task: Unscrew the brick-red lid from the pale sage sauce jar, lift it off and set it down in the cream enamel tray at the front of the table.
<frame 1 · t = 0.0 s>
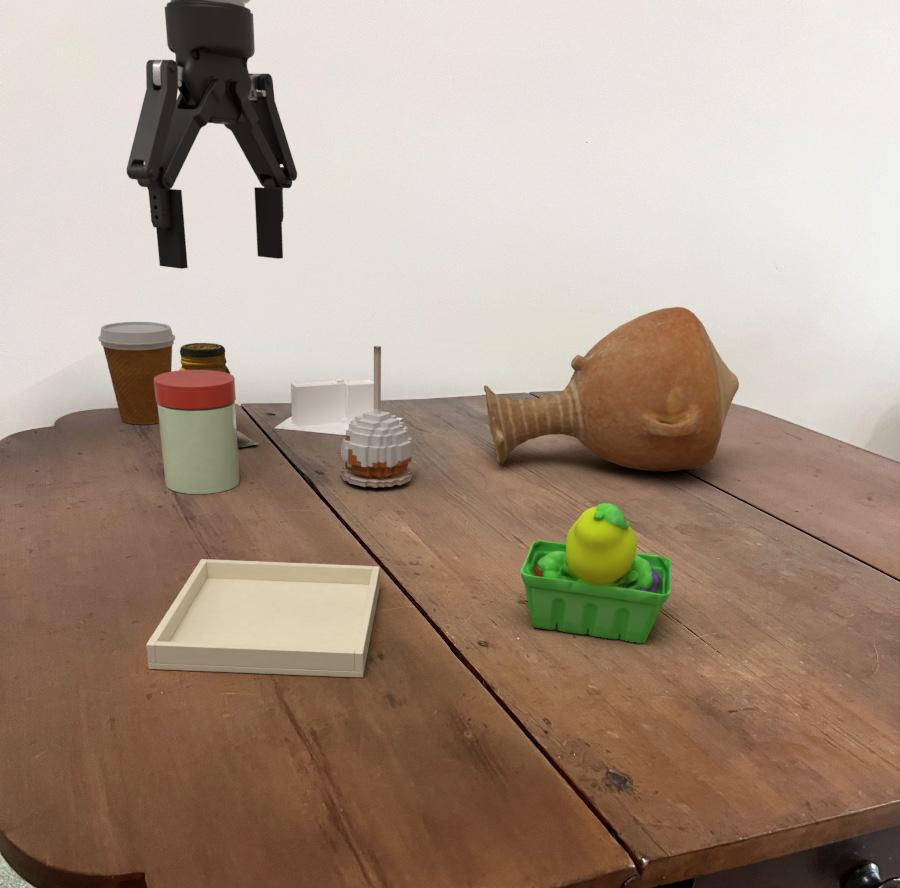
hand: (224, 262, 89), 23 cm above the table, tool pointing down, fingers open, 13 cm apart
disposable coffee cup: (145, 420, 124), on the table
jar: (202, 482, 101), on the table
caramel apple: (376, 482, 104), on the table
fruit basket: (589, 627, 74), on the table
tray: (275, 624, 72), on the table
lid: (194, 381, 97), point 11 cm above the table, screwed on, not yet turned
napkin holder: (340, 424, 126), on the table
jug: (601, 465, 114), on the table
condiment: (217, 444, 115), on the table
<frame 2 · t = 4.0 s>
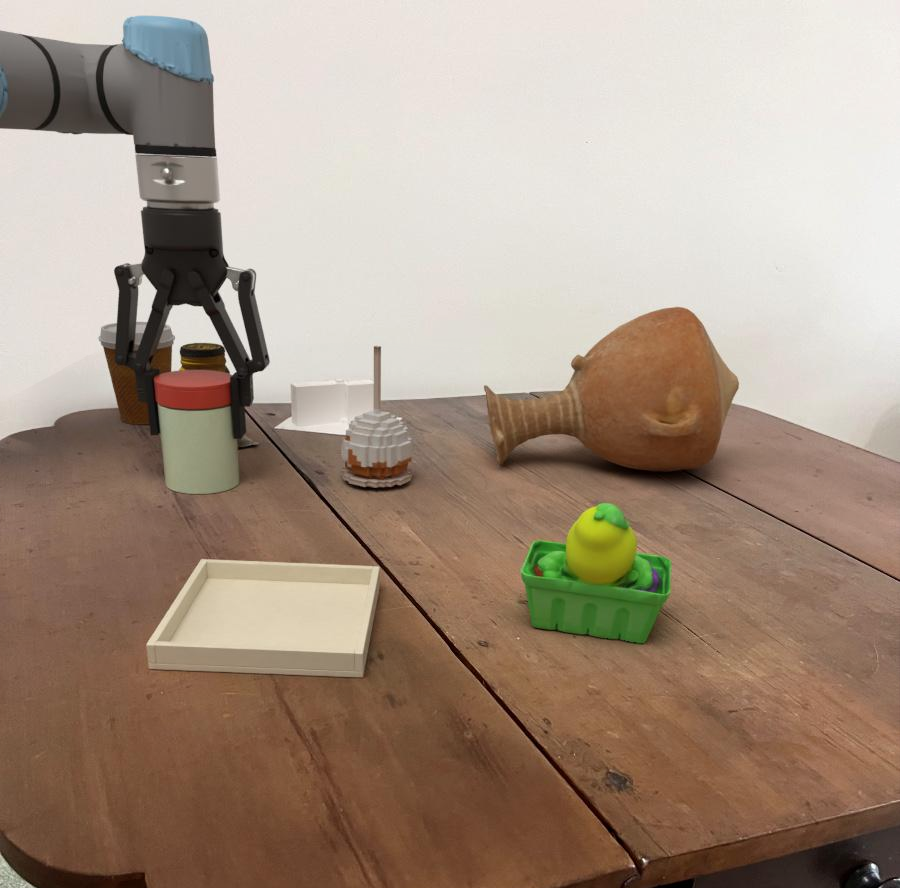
hand: (198, 433, 99), 6 cm above the table, tool pointing down, fingers closed on lid, 8 cm apart
lid: (194, 381, 97), point 11 cm above the table, screwed on, not yet turned, touching gripper
everything else where it was.
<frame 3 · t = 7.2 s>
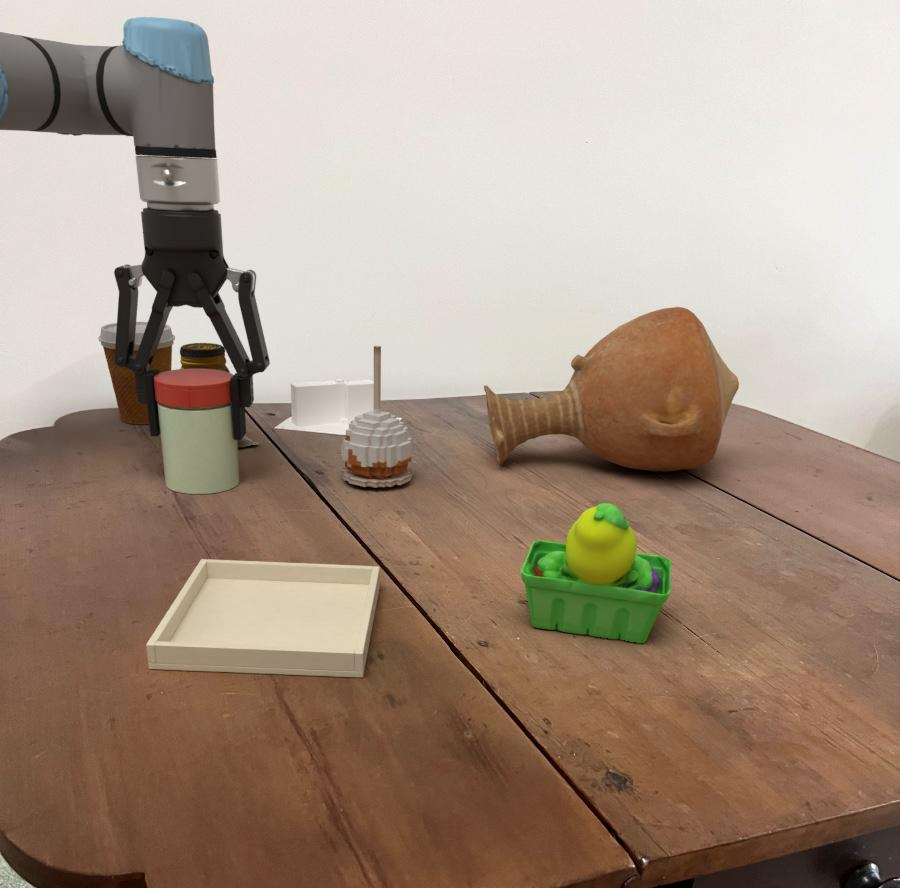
hand: (198, 434, 99), 5 cm above the table, tool pointing down, fingers closed on lid, 8 cm apart
lid: (194, 380, 97), point 11 cm above the table, turned 95° so far, risen 0.1 cm, still on its thread, touching gripper
everything else where it was.
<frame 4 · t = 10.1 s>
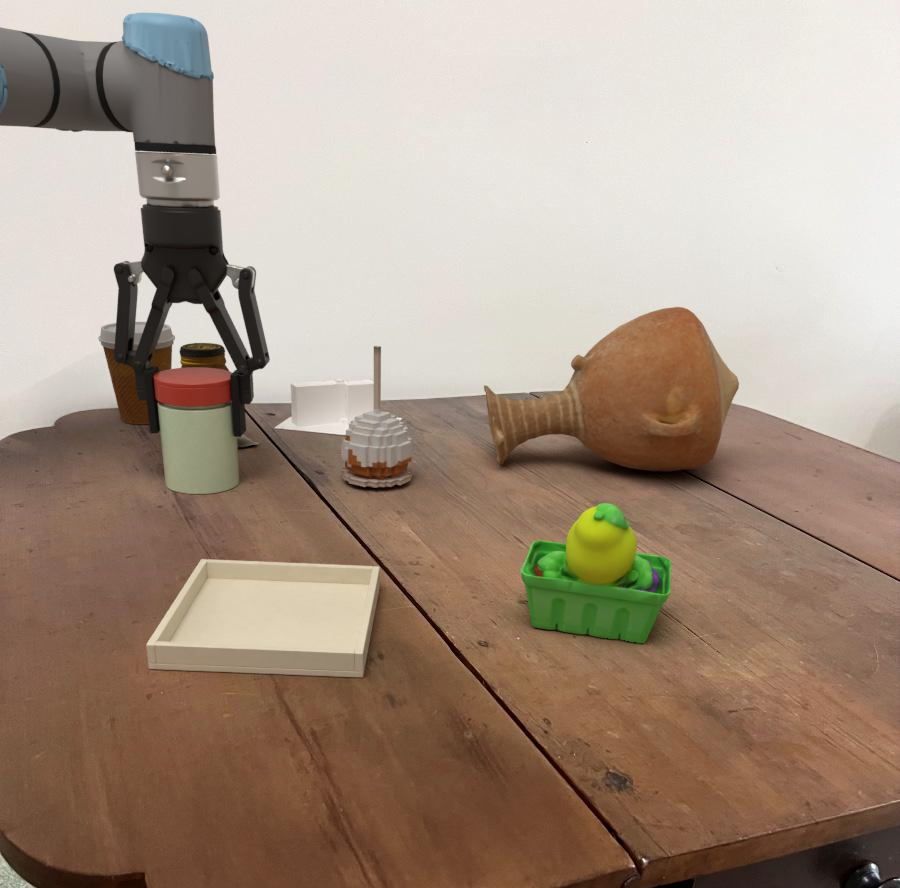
hand: (198, 431, 99), 6 cm above the table, tool pointing down, fingers closed on lid, 8 cm apart
lid: (194, 379, 97), point 11 cm above the table, turned 190° so far, risen 0.3 cm, still on its thread, touching gripper
everything else where it was.
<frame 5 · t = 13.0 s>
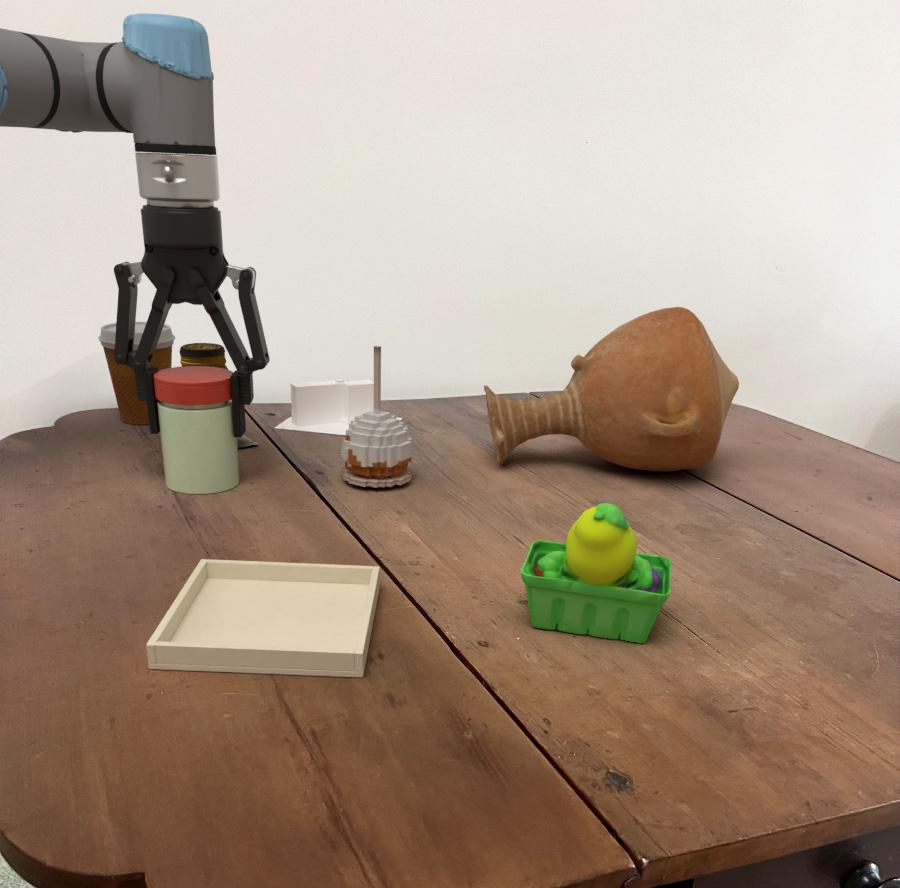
hand: (198, 432, 99), 6 cm above the table, tool pointing down, fingers closed on lid, 8 cm apart
lid: (194, 378, 96), point 11 cm above the table, turned 285° so far, risen 0.4 cm, still on its thread, touching gripper
everything else where it was.
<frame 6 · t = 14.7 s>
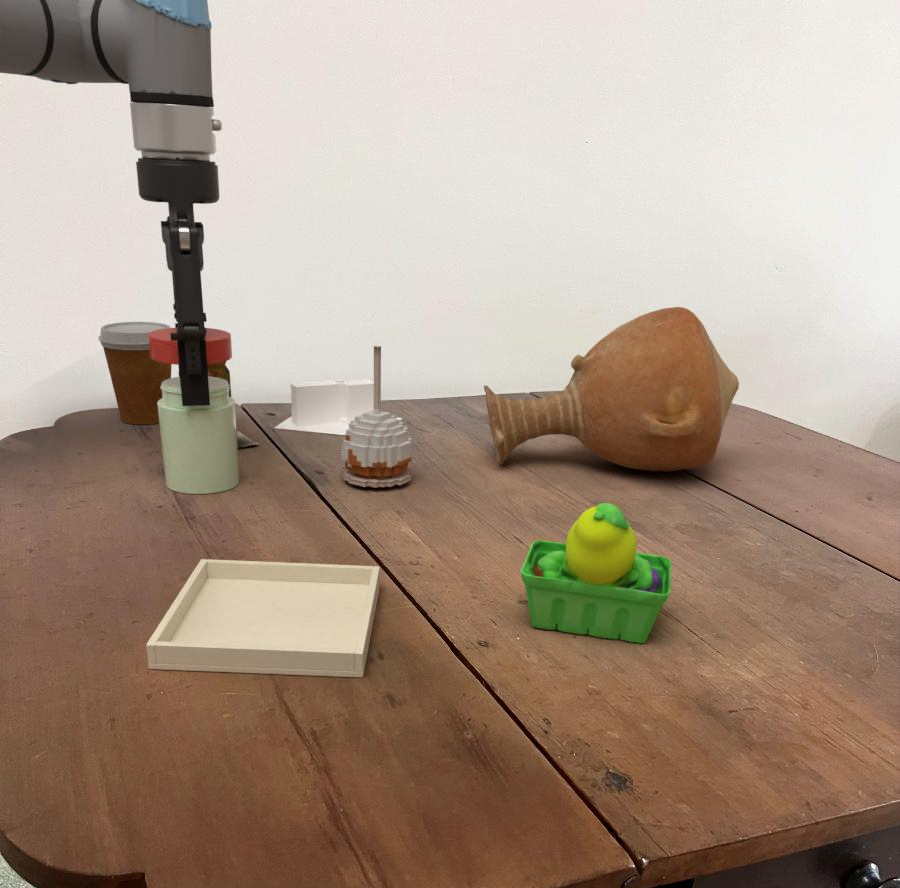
hand: (194, 394, 97), 10 cm above the table, tool pointing down, fingers closed on lid, 8 cm apart
lid: (190, 338, 95), point 16 cm above the table, off its thread, touching gripper
everything else where it was.
when the fingers open (2 cm above the table, at t = 22.7 s): lid drops 6 cm, resting on tray.
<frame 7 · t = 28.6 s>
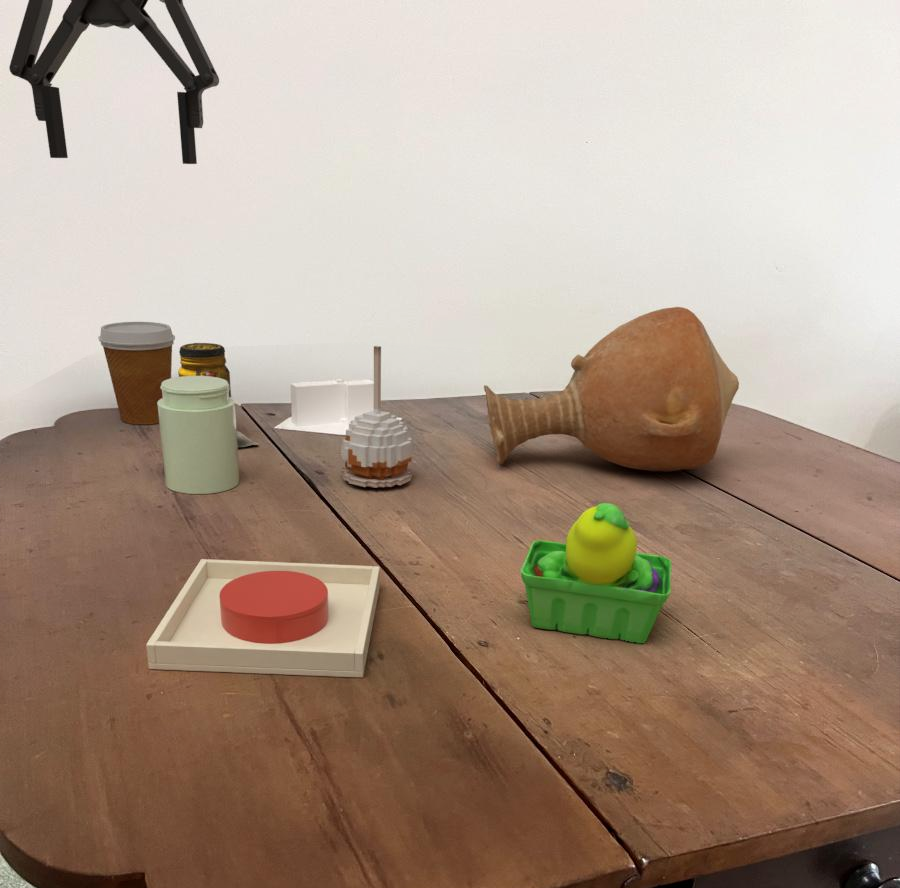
hand: (124, 161, 96), 32 cm above the table, tool pointing down, fingers open, 13 cm apart
lid: (274, 596, 71), point 2 cm above the table, off its thread, touching tray
everything else where it was.
at the end: lid came off its thread; lid inside the target area on the tray (0.0 cm from its centre), point 2.4 cm above the tray's base; the gripper is holding nothing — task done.
